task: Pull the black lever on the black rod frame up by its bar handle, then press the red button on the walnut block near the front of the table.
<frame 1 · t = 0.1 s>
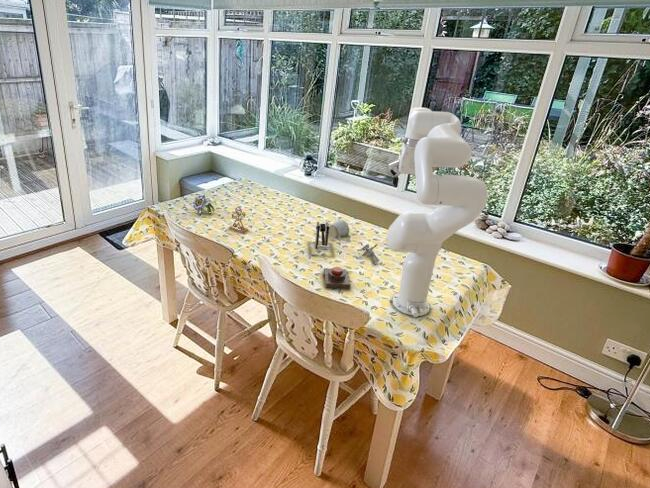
hand: (408, 186, 156), 37 cm above the table, tool pointing down, fingers open, 9 cm apart
button block: (336, 280, 162), on the table
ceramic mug: (339, 238, 196), on the table
button: (337, 271, 160), point 4 cm above the table, slide at 0.1 cm
passion flower: (203, 211, 223), on the table
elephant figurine: (370, 259, 178), on the table
black rod frame: (320, 249, 185), on the table
lever: (323, 236, 178), point 9 cm above the table, hinge at -30.0°
brown openwork figurine: (238, 229, 203), on the table
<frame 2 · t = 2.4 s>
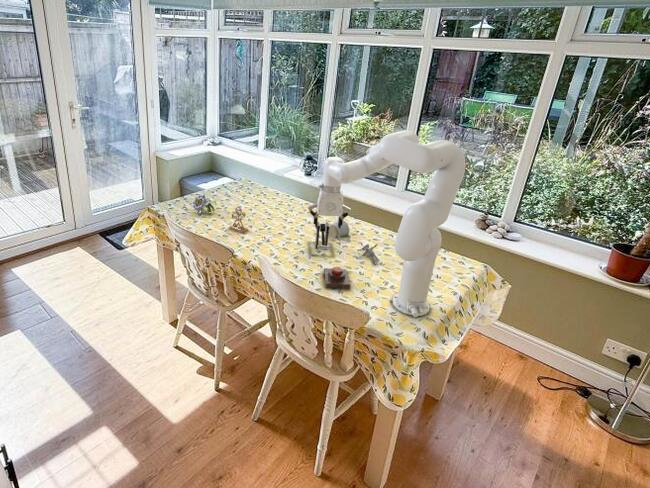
hand: (327, 226, 171), 16 cm above the table, tool pointing down, fingers open, 9 cm apart
nothing on the table moved.
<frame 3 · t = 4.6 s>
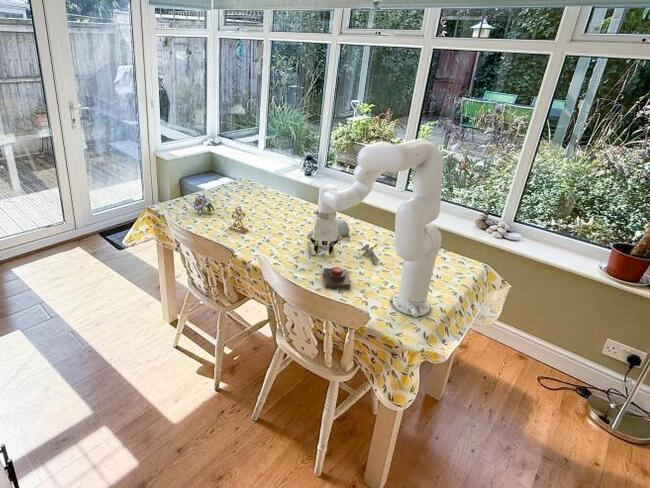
hand: (323, 252, 176), 3 cm above the table, tool pointing down, fingers closed on lever, 5 cm apart
lever: (323, 236, 178), point 9 cm above the table, hinge at -30.0°, touching gripper
everything else where it was.
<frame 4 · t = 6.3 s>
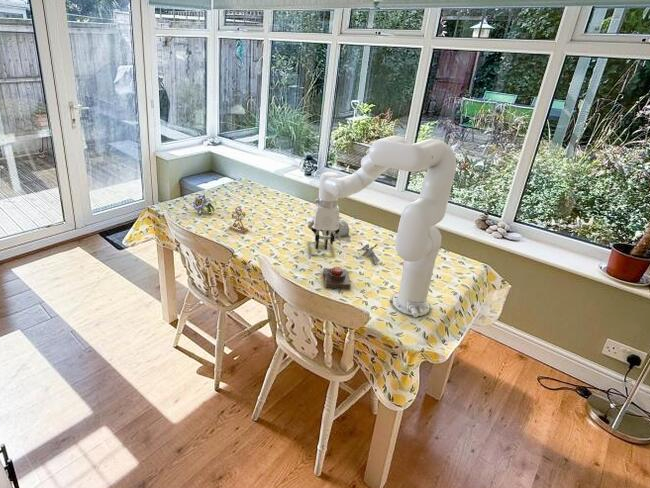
hand: (324, 242, 172), 9 cm above the table, tool pointing down, fingers closed on lever, 5 cm apart
lever: (323, 232, 177), point 11 cm above the table, hinge at 1.7°, touching gripper
everything else where it was.
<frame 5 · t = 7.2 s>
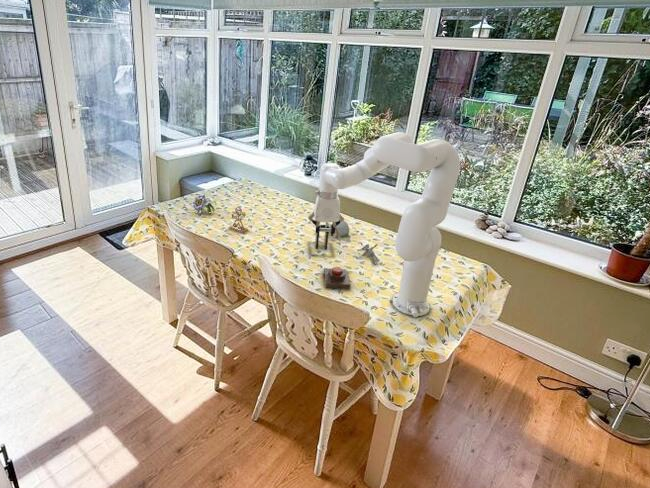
hand: (324, 234, 172), 13 cm above the table, tool pointing down, fingers closed on lever, 5 cm apart
lever: (323, 228, 176), point 13 cm above the table, hinge at 20.3°, touching gripper
everything else where it was.
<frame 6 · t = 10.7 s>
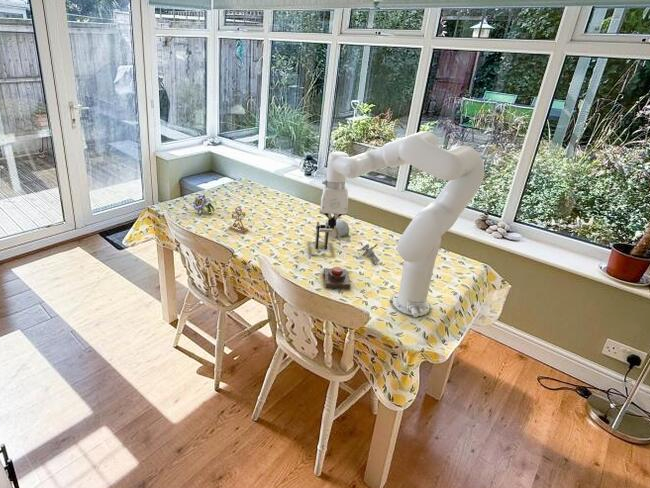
hand: (331, 227, 164), 19 cm above the table, tool pointing down, fingers closed
lever: (323, 228, 176), point 13 cm above the table, hinge at 19.4°
everything else where it was.
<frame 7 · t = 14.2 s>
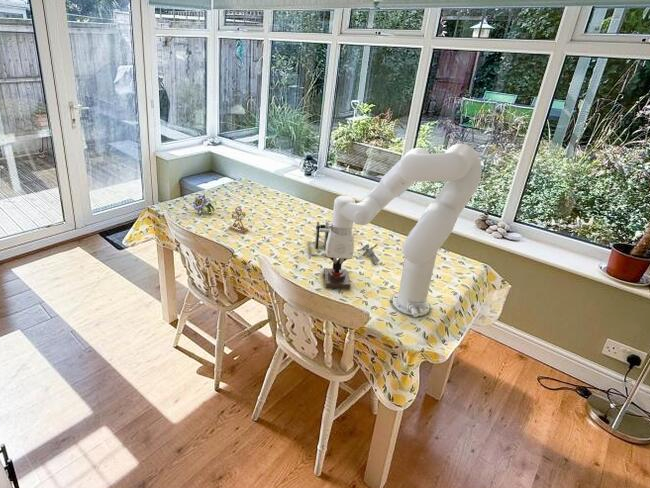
hand: (336, 270, 160), 5 cm above the table, tool pointing down, fingers closed
button: (336, 272, 160), point 4 cm above the table, slide at -0.7 cm, touching gripper
everything else where it was.
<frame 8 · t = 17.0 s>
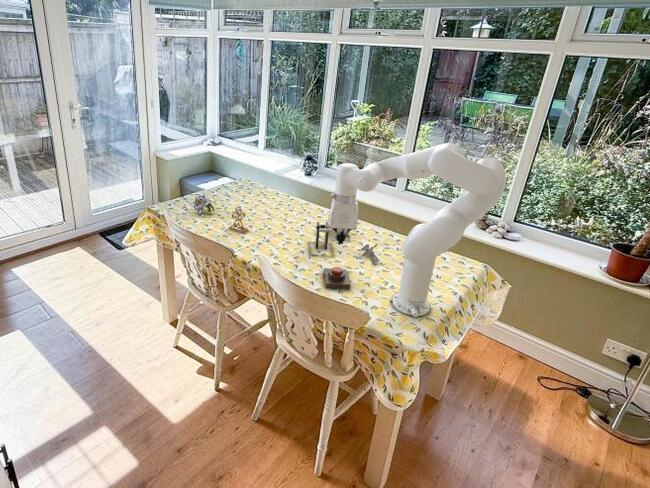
hand: (340, 242, 155), 17 cm above the table, tool pointing down, fingers closed
button: (337, 271, 160), point 5 cm above the table, slide at 0.1 cm
everything else where it was.
at the end: lever at +19° (first picture: -30°); button pushed in 1.1 cm at the most during the clip, back to where it started at the end; button slide at 0.1 cm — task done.
